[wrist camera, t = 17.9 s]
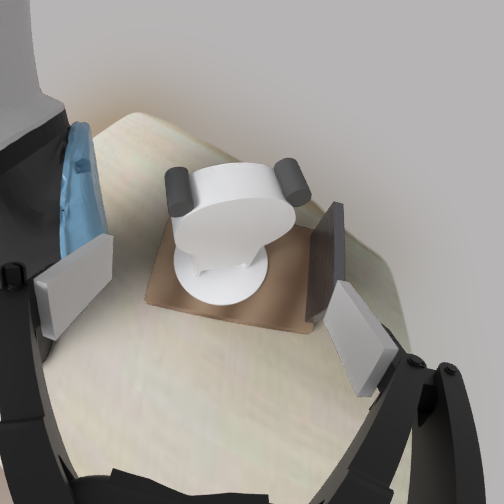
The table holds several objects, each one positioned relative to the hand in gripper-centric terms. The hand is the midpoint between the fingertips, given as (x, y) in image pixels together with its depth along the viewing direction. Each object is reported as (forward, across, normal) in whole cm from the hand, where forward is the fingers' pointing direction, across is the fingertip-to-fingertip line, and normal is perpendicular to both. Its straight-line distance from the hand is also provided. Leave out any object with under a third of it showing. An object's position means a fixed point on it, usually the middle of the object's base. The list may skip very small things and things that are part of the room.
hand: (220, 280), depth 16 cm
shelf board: (+20, +2, -7) cm, 21 cm away
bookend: (+18, +11, -6) cm, 22 cm away
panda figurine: (+18, 0, -6) cm, 19 cm away
